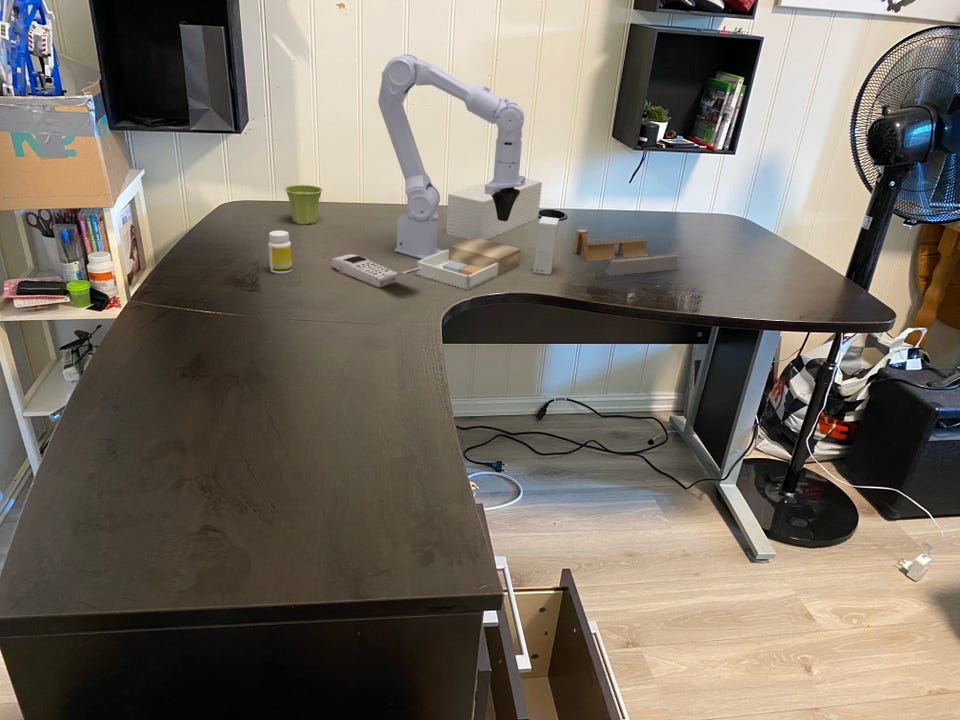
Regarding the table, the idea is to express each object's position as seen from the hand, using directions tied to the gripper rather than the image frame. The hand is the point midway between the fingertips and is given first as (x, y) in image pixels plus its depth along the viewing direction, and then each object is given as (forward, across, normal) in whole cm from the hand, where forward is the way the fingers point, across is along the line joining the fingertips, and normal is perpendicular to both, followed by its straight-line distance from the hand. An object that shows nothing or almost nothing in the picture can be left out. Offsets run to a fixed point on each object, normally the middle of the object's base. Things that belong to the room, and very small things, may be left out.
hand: (502, 220), depth 165 cm
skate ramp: (+11, +24, -19) cm, 33 cm away
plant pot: (+10, -10, +55) cm, 57 cm away
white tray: (+10, -16, +2) cm, 18 cm away
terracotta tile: (+7, -15, -2) cm, 17 cm away
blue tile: (+7, -16, +2) cm, 18 cm away
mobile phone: (+10, -30, +14) cm, 35 cm away
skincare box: (+10, +2, -11) cm, 15 cm away
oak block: (+10, -4, +1) cm, 11 cm away
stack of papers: (+10, +25, +17) cm, 32 cm away
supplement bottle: (+10, -40, +31) cm, 52 cm away
